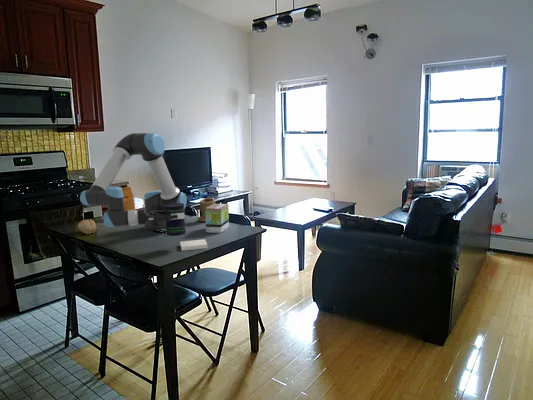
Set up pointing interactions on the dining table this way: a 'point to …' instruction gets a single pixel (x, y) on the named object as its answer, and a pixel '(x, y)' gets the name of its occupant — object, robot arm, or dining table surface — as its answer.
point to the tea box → (217, 218)
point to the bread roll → (87, 226)
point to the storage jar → (175, 225)
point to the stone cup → (203, 205)
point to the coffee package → (128, 199)
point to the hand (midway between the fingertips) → (183, 213)
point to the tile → (193, 244)
